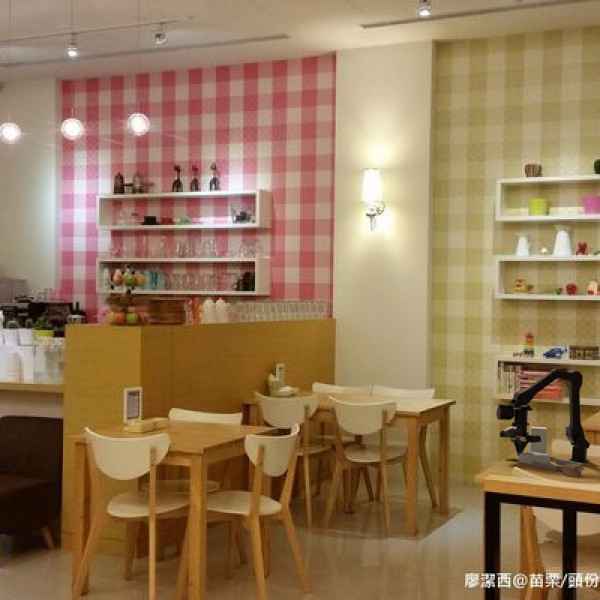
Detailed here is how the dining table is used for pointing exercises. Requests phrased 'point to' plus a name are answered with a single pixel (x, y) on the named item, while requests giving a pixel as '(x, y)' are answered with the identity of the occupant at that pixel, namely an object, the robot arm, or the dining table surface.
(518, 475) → the dining table surface
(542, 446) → the supplement box
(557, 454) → the dining table surface
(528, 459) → the carton
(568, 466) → the walnut block
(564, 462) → the display bay
